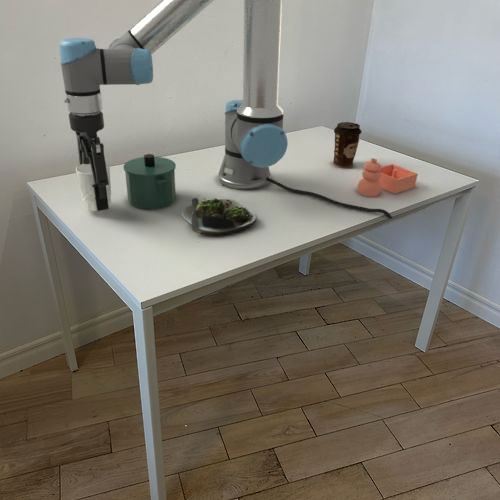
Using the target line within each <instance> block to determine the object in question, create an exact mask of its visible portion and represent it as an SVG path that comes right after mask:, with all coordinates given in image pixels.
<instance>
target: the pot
mask: <svg viewBox="0 0 500 500" xmlns="http://www.w3.org/2000/svg"><path fill="white" fill-rule="evenodd" d="M124 173H125V183H126V184H125V185H126V193H127V201H128V204H129V205H130V206H132V207H134V208H136V209H139V210H140V209H141V210H159V209H164V208H167V207H169V206H171V205H173V204H175V202H176V199H177V196H176V195H177V194H176V177H175V176H176V175H175V174H176V173H175V170H174V171H173V172H171V173H169V174H166V175H162V176H157V177H139V176H133V175H130V174H128V173H126V172H125V171H124Z"/></svg>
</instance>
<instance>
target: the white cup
mask: <svg viewBox="0 0 500 500" xmlns="http://www.w3.org/2000/svg"><path fill="white" fill-rule="evenodd" d="M110 168H111V167H110V165H109V164H108V163H106V170H107V176H108V182H109V185H106V190H107V199H108V207H109V208H111V206H112V190H111V188H112V181H111V169H110ZM75 173H76V178H77V184H78V188H79V192H80V193H79V194H80V198H81V200H82V201H81V202H82V205H83V208H84V209H85V210H86V211H87V210H88V211H92V212H98V211H97V207H96V199H95V192H94V187H92V185H94V184H95V182H94V178H93V173H92V169H91V165H90V164H81V165H80V164H79V165H77V166H76V167H75Z"/></svg>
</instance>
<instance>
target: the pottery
mask: <svg viewBox="0 0 500 500" xmlns="http://www.w3.org/2000/svg"><path fill="white" fill-rule="evenodd" d="M418 174H419V173H417V172H415V171H412V170H409V169H406V168H404V167H401V166H399V165H396V164H394V163H390V164H386V165H383V166H382V165H381V163H379V162H378V159H377V158H370V161H367V162H365V163H364V165H363V170H362V172H361V176H362V178H361V179H360V180H359V181H358V183H357V193H359V195H361V196H365V197H371V198H372V197H378V196H379V195H380V193H381V191H382V189H383V190H385V191H387V192H389V193H392V194H394V195H395V194H399V193H401V192H404V191H407V190H411V189H414V188H416V184H417V179H418Z"/></svg>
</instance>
